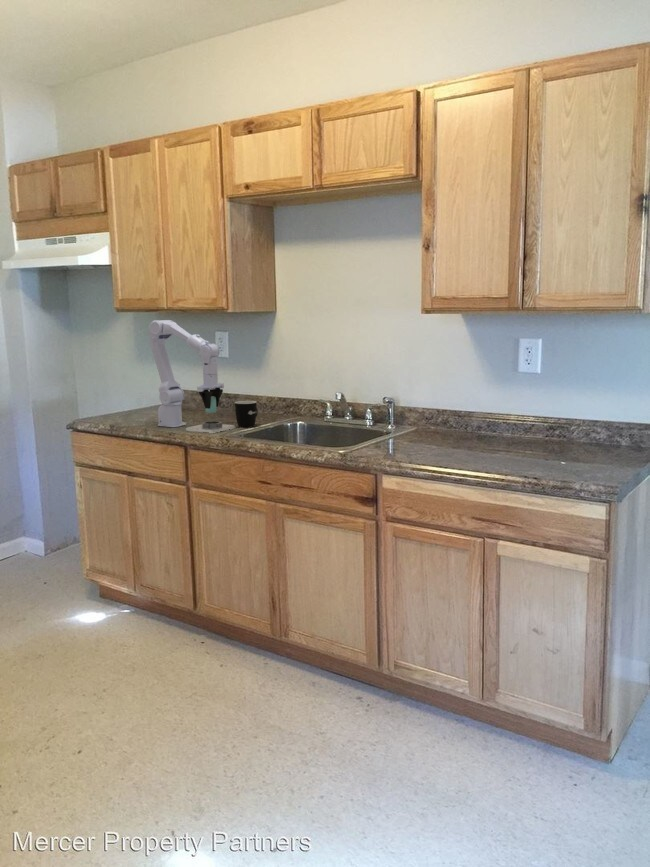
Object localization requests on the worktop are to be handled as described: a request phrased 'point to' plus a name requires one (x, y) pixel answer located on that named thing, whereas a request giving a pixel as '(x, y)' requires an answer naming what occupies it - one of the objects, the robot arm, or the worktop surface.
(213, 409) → the knob
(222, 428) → the panel
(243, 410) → the mug
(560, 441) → the worktop surface
